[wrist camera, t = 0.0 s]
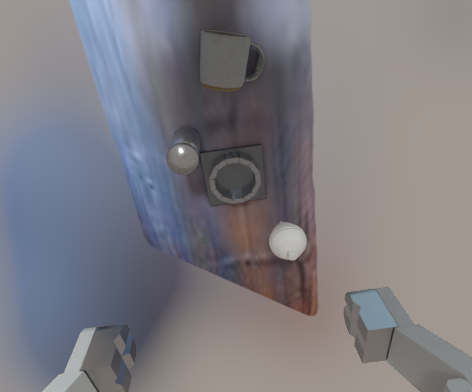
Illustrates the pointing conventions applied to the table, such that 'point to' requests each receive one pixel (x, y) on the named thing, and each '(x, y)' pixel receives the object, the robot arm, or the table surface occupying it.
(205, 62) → the ceramic mug
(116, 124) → the table surface
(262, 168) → the duct flange
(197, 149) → the lidded canister
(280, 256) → the spinning top
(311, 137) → the table surface
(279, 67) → the table surface
